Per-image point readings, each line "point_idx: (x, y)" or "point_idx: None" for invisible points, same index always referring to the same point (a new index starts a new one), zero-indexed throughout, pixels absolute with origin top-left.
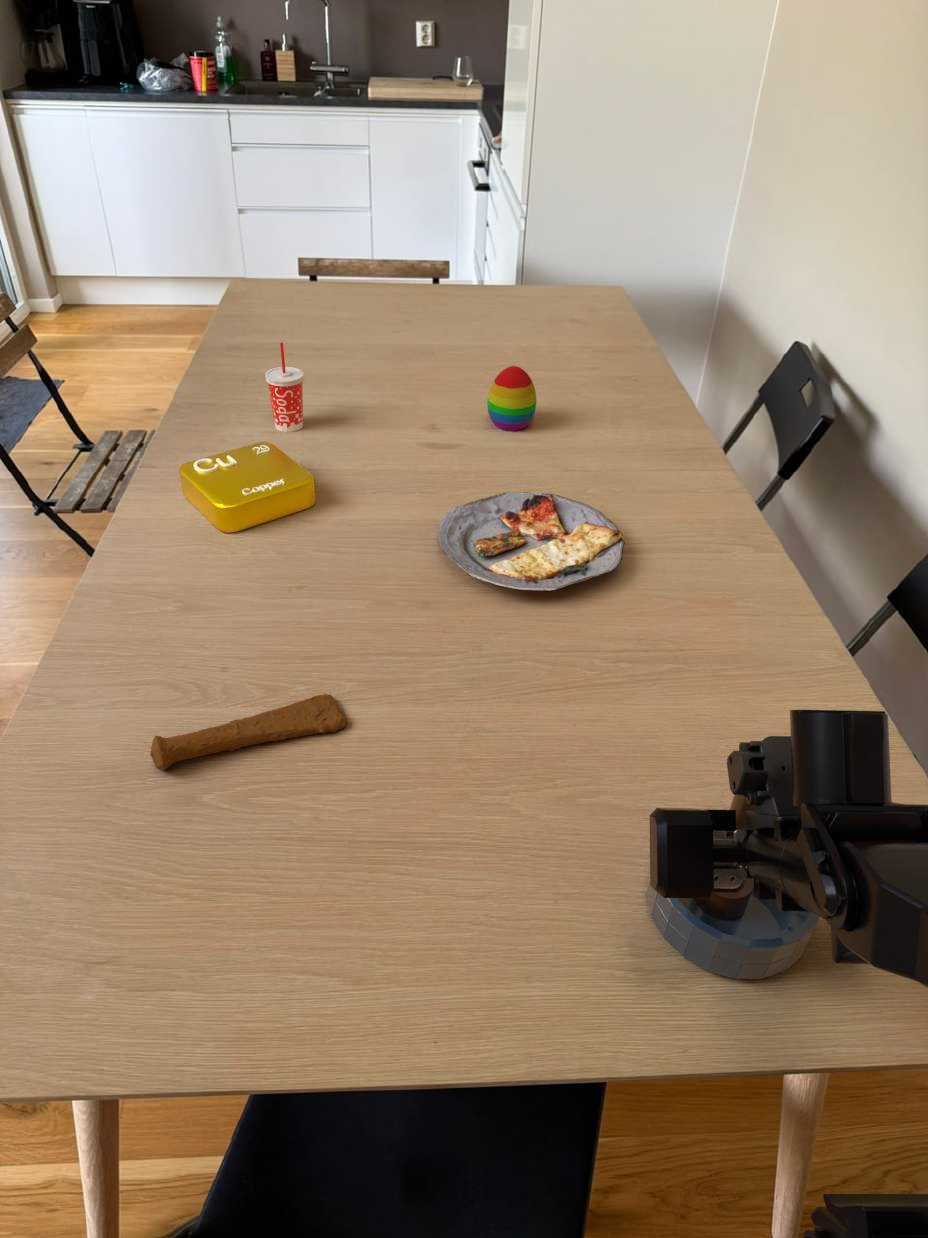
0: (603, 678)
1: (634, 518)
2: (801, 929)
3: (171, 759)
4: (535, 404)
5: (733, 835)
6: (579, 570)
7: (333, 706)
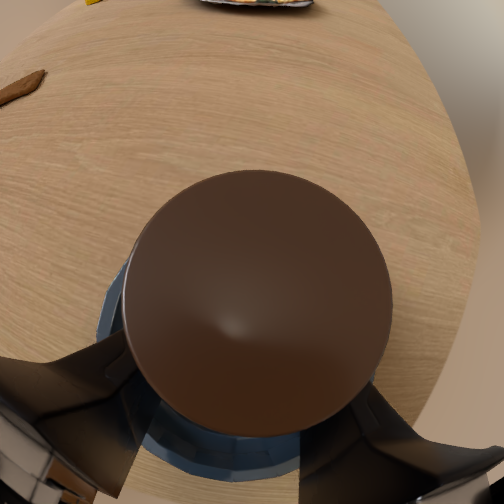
0: (247, 54)
1: (328, 4)
2: (292, 463)
3: None
4: None
5: (40, 481)
6: (270, 2)
7: (37, 76)
